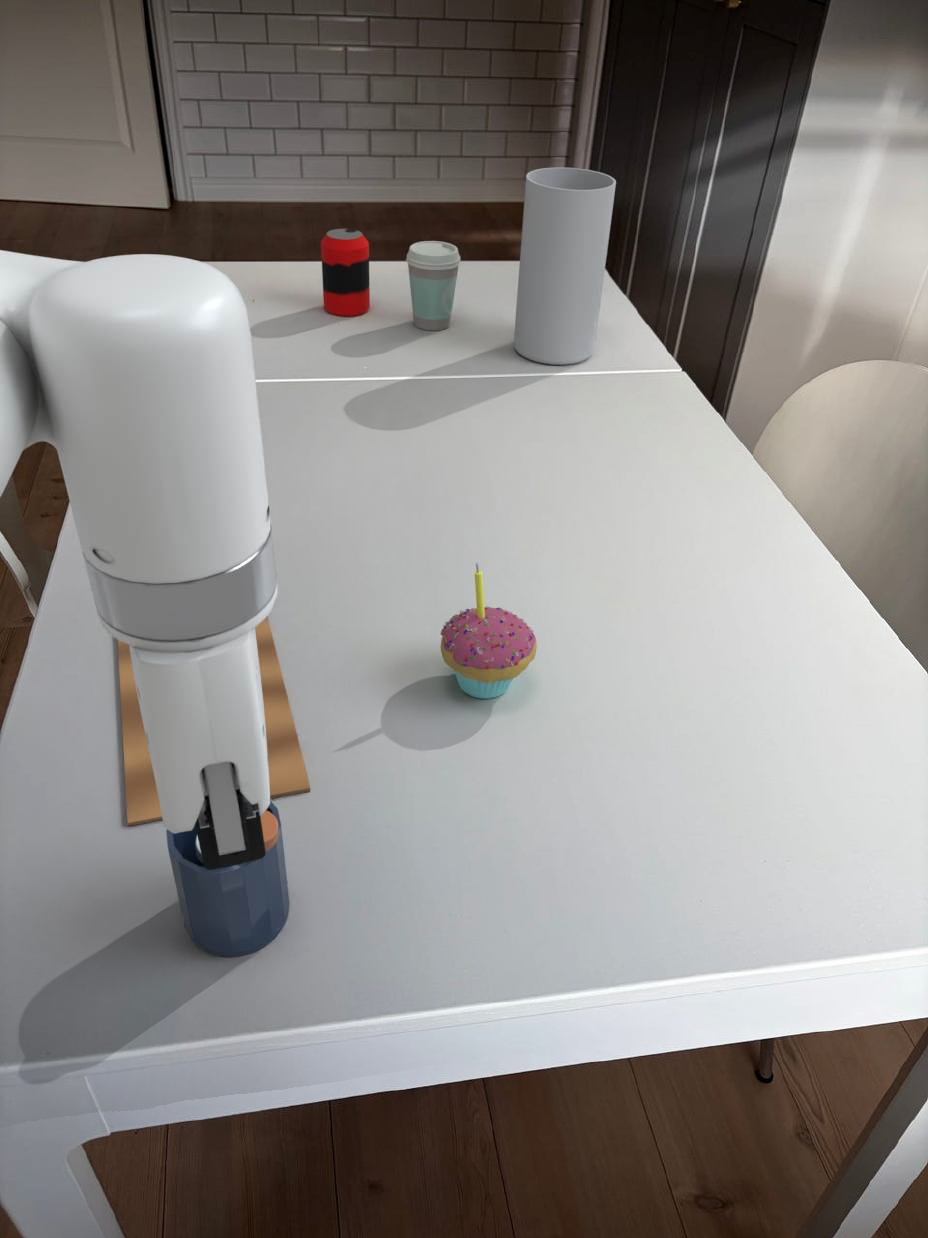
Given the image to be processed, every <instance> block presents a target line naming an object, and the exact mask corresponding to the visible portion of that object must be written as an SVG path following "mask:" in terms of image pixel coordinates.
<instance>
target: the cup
mask: <svg viewBox="0 0 928 1238" xmlns="http://www.w3.org/2000/svg"><path fill="white" fill-rule="evenodd" d="M266 811H269V812H270V813H272V814H273V815H274V816H275V817H276V819H277V821H278V839H277V841H276V843H275V845H274V846H273V847H272V848H271V849H269V850H268V851H266V855H265V856H264V857H263V858H262V859H259V860H254V861H249V862H245V863H242V864H238V865H234V866H227V867H224V868H218V869H213V870H208V869H206V868H204V864H203V863H201V862H200V861H199V859H198V858H197V855H196V845H195V841H196V836H197V830H196V826H195V825H194V827H193V829H192V830H191V831H185V832H178V833H175V834H174V833H172V832H170V831H169V830H168V829H167V828H166V830H165V831H166V843H167V852H168V855H169V860H170V865H171V869H172V873H173V879H174V883H175V888H176V892H177V897H178V902H179V906H180V907H179V908H180V911H181V915H182V920H183V926H184V928H185V931H186V933H187V936H188V937H189V939H190V940H191V941H192V942H193V944H194V945H195V946H196V947H198V948H199V949H201V950H202V951H204V952H206V953H208V954H211V955H213V956H218V957H224V958H225V957H226V958H227V957H228V958H233V957H241V956H246V955H249V954H252V953H255V952H258V951H259V950H261V949H263V948H264V947H266V946H267V945H269V944H270V943H271V942H273V940H275V939H276V938H277V936H278V935H279V934H280V933H281V932H282V931H283V929H284V926H285V925H286V923H287V921H288V917H289V912H290V897H289V896H290V895H289V888H288V887H289V886H288V877H287V868H286V867H287V865H286V858H285V848H284V847H285V846H284V838H283V830H282V829H283V828H282V823H281V817H280V812H279V809H278V808H277V806H276V804H274V803H273V802H272V800H270V805H269V806H268V808H267V809H266Z"/></svg>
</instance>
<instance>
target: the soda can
mask: <svg viewBox="0 0 928 1238" xmlns="http://www.w3.org/2000/svg"><path fill="white" fill-rule="evenodd" d="M320 251H321V253H320V254H321V273H322V274H321V275H322V296H323V297H322V298H323V300H322V301H323V308H324V310H325V311H326V312H327V313H328V314H330V315H333V316H338V317H356V316H361V315H363V314H366V313H367V312H368V311H369V310H370V308H371V300H370V299H371V298H370V296H371V295H370V290H371V289H370V243H369V241H368V240H367V238H366V237H365V235H364V234H363V232H361V231H360V230H357V229H354V228H353V229H351V228H336V229H331V230H329V231H327V232H326V234H325V236H324V237H323V238H322V239H321V241H320Z"/></svg>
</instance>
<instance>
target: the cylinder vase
mask: <svg viewBox="0 0 928 1238" xmlns="http://www.w3.org/2000/svg"><path fill="white" fill-rule="evenodd" d="M616 185H617V181H616V179H615V178H614V177H612V176H611V175H609V174H606V173H603V172H599V171H595V170H591V169H585V168H579V167H578V168H577V167H545V168H538V169H534V170H530V171H529V172H528V173H527V174H526V176H525V190H524V201H523V216H522V229H521V242H520V243H521V244H520V255H519V269H518V279H517V280H518V281H517V293H516V304H515V305H516V307H515V318H514V319H515V321H514V330H513V332H514V334H513V347H514V349H515V350H516V352H517V353H518V354H519V355H521V357H523V358H526V359H527V360H530V361H532V362H537V363H540V364H546V365H554V366H555V365H556V366H564V365H573V364H578V363H581V362H584V361H586V360H588V359H589V358H590V357H591V356H592V355H593V354H594V352H595V349H596V342H597V341H596V340H597V335H598V334H597V333H598V327H599V317H600V310H601V301H602V294H603V286H604V279H605V271H606V262H607V256H608V250H609V249H608V248H609V240H610V233H611V225H612V218H613V217H612V216H613V209H614V202H615V193H616Z"/></svg>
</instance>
